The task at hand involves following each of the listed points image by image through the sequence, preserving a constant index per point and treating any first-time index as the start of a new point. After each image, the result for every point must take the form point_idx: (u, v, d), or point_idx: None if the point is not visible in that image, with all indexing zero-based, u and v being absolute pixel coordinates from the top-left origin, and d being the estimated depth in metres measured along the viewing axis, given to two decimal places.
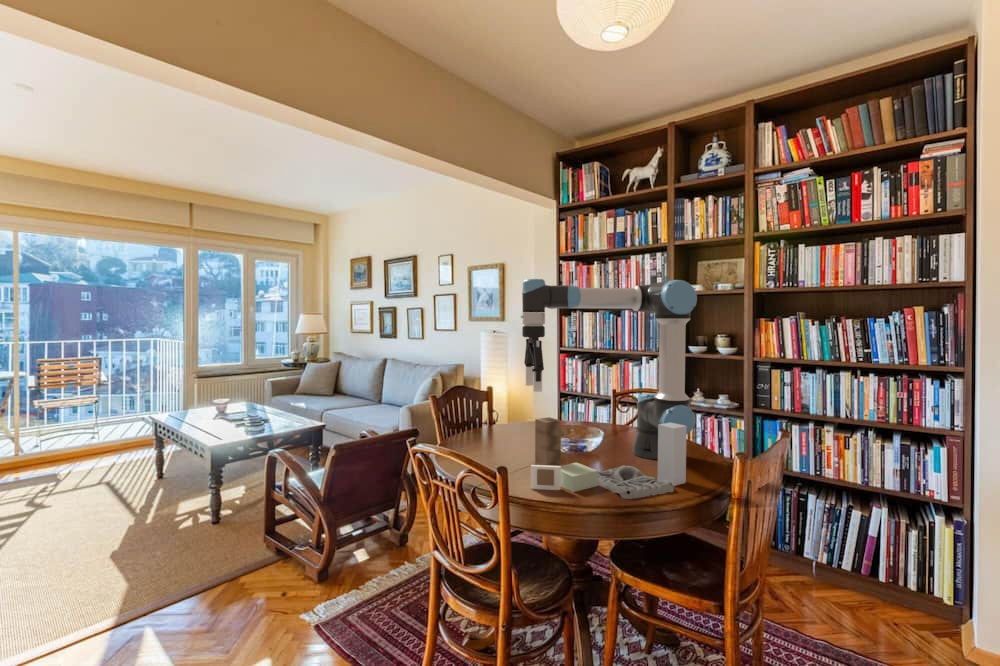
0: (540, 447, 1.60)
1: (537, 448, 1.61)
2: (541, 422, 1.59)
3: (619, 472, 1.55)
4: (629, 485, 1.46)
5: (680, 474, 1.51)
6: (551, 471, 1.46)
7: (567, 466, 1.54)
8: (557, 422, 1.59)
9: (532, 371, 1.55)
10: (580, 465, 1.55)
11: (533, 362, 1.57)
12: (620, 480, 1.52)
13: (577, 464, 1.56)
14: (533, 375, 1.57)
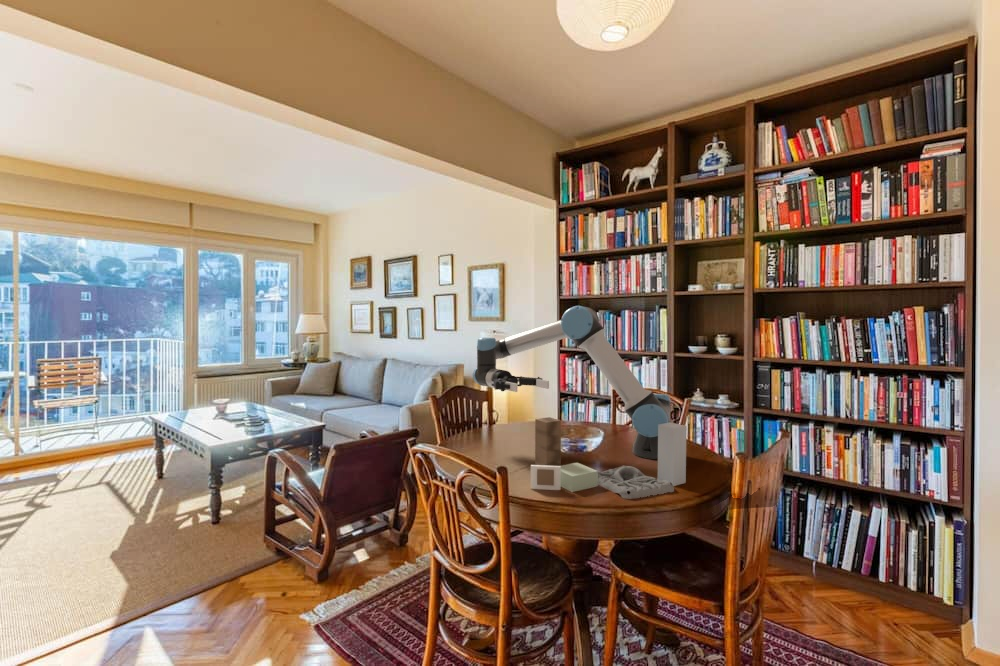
0: (540, 447, 1.60)
1: (537, 448, 1.61)
2: (541, 422, 1.59)
3: (619, 472, 1.55)
4: (629, 485, 1.46)
5: (680, 474, 1.51)
6: (551, 471, 1.46)
7: (567, 466, 1.54)
8: (557, 422, 1.59)
9: None
10: (581, 465, 1.55)
11: None
12: (620, 480, 1.52)
13: (578, 464, 1.56)
14: (508, 389, 1.69)
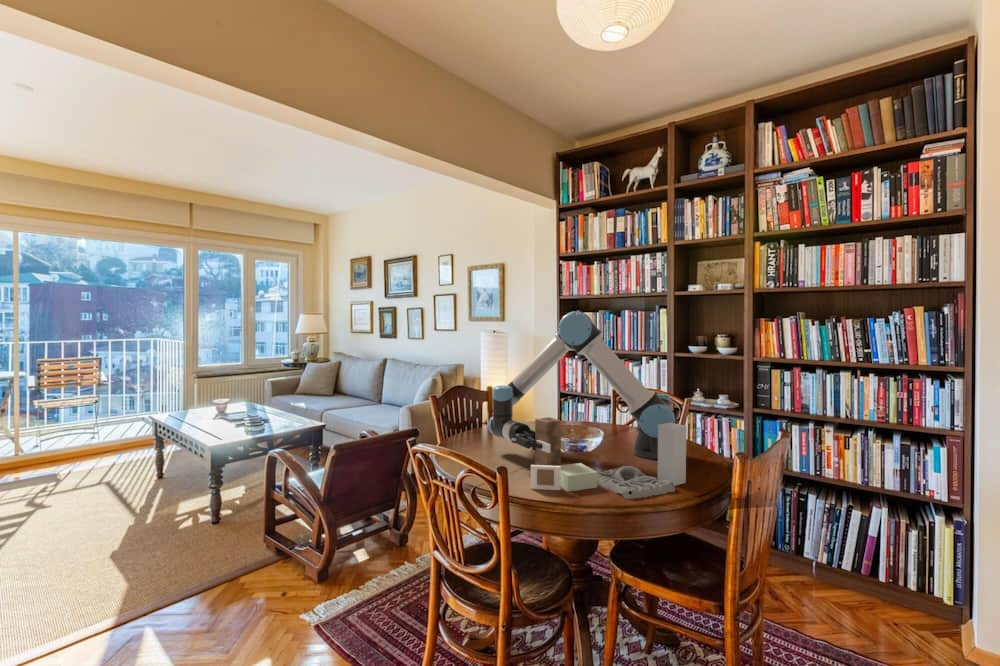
0: None
1: None
2: (541, 422, 1.59)
3: (620, 472, 1.55)
4: (630, 485, 1.46)
5: (680, 474, 1.51)
6: (551, 471, 1.46)
7: (569, 466, 1.54)
8: (557, 422, 1.59)
9: None
10: (583, 466, 1.54)
11: None
12: (621, 480, 1.52)
13: (580, 464, 1.55)
14: None
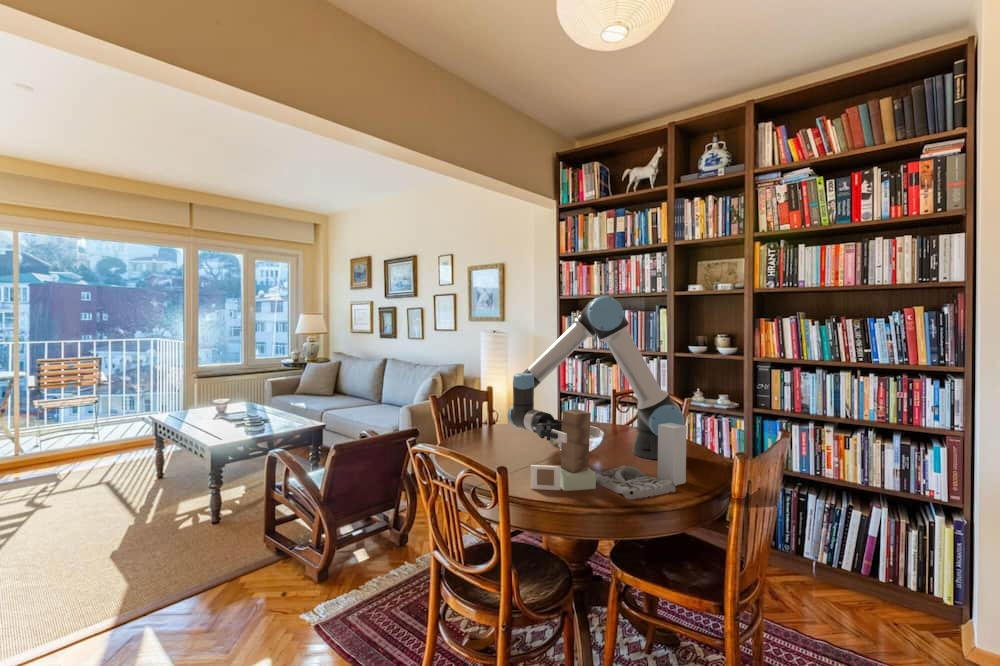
0: (567, 440, 1.49)
1: None
2: (570, 414, 1.48)
3: (620, 472, 1.55)
4: (631, 485, 1.46)
5: (680, 474, 1.51)
6: (551, 471, 1.46)
7: None
8: (587, 414, 1.49)
9: None
10: None
11: None
12: (622, 480, 1.52)
13: None
14: None
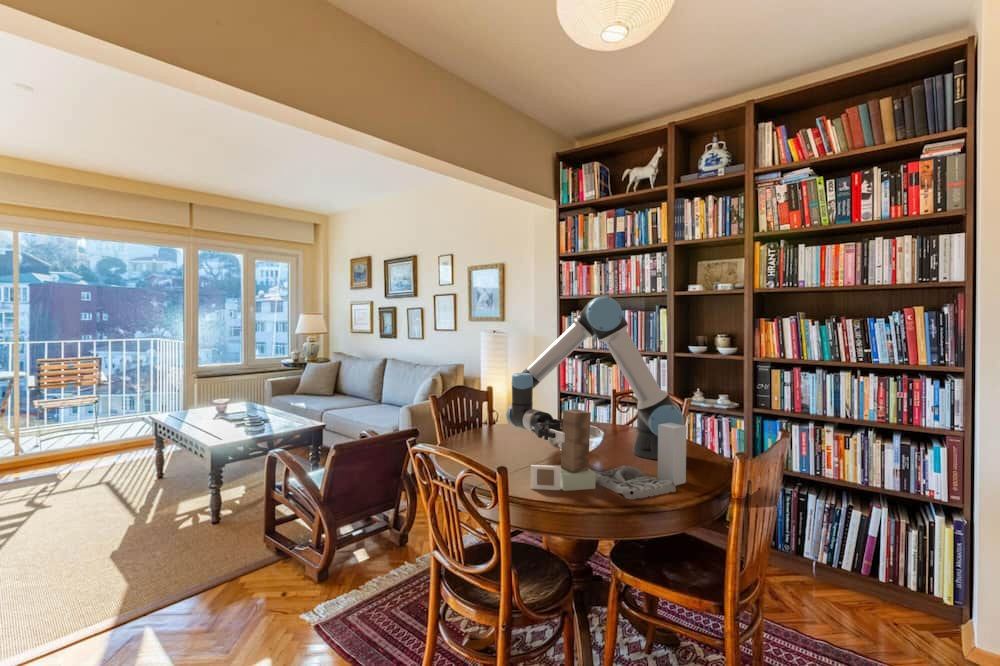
0: (567, 440, 1.50)
1: None
2: (570, 413, 1.49)
3: (620, 472, 1.55)
4: (632, 485, 1.46)
5: (680, 474, 1.51)
6: (551, 471, 1.46)
7: None
8: (587, 414, 1.49)
9: None
10: None
11: None
12: (622, 480, 1.52)
13: None
14: (553, 438, 1.49)
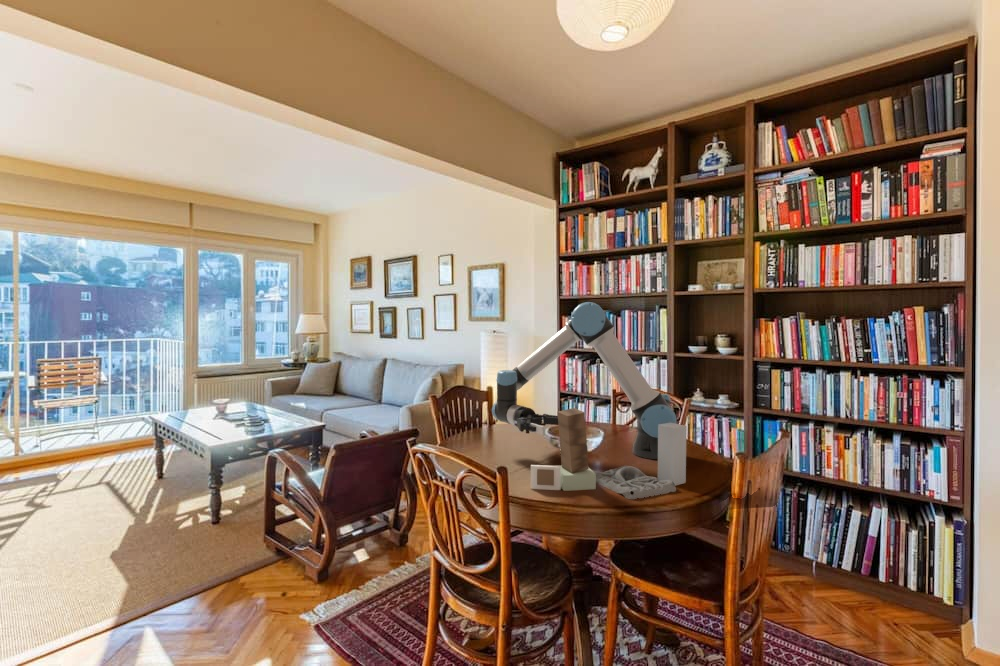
0: (564, 441, 1.49)
1: (562, 442, 1.50)
2: (563, 415, 1.47)
3: (621, 472, 1.55)
4: (632, 485, 1.46)
5: (680, 474, 1.51)
6: (551, 471, 1.46)
7: None
8: (580, 414, 1.47)
9: None
10: None
11: None
12: (622, 480, 1.52)
13: None
14: None
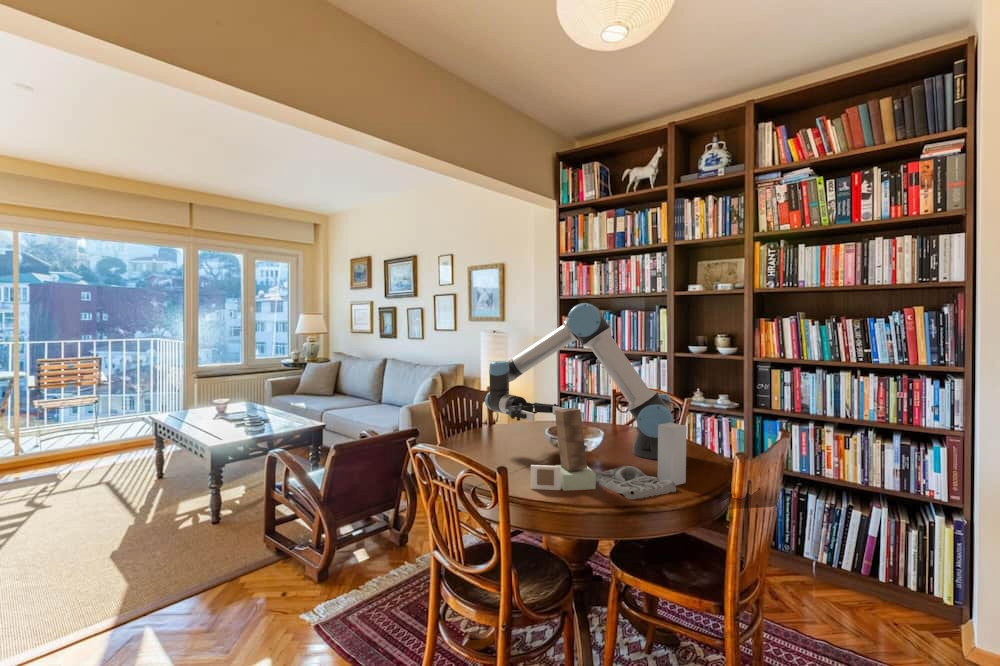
0: (561, 439, 1.51)
1: (560, 441, 1.52)
2: (559, 412, 1.51)
3: (621, 472, 1.55)
4: (632, 485, 1.46)
5: (680, 474, 1.51)
6: (551, 471, 1.46)
7: None
8: (576, 411, 1.50)
9: (518, 420, 1.62)
10: None
11: None
12: (622, 480, 1.52)
13: None
14: None
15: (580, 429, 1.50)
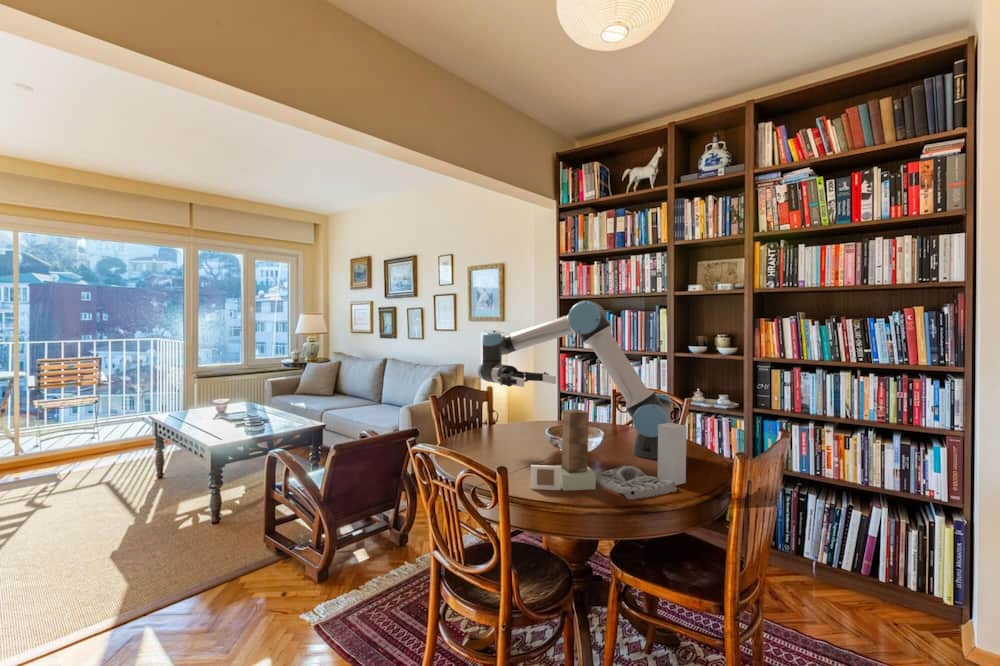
0: (565, 439, 1.50)
1: (563, 441, 1.52)
2: (566, 412, 1.50)
3: (621, 472, 1.55)
4: (632, 485, 1.45)
5: (680, 474, 1.51)
6: (551, 471, 1.46)
7: None
8: (583, 414, 1.49)
9: None
10: None
11: None
12: (622, 480, 1.52)
13: None
14: (515, 384, 1.67)
15: (585, 432, 1.49)
